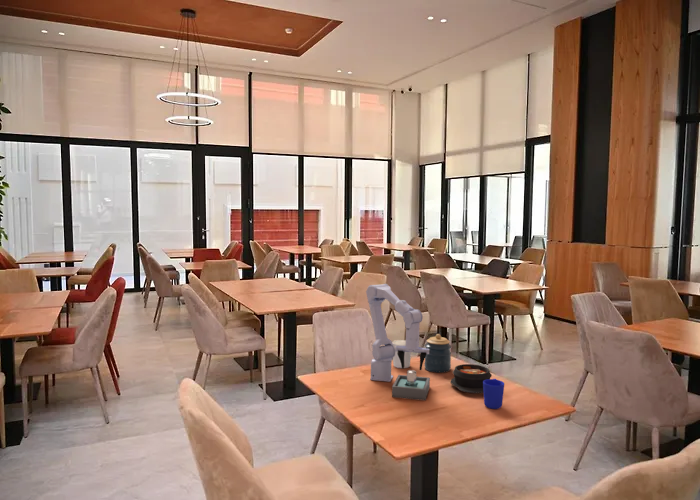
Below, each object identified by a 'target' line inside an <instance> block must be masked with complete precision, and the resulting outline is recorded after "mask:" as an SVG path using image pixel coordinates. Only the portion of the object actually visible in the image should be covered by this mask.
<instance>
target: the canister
mask: <svg viewBox="0 0 700 500" xmlns="http://www.w3.org/2000/svg"><path fill="white" fill-rule="evenodd" d="M450 343H451V341H450V340H448V339H447V338H446V337H442V336H441V334H440V333H436V335H435V336H430V337H429V338H427V339H426V343H425V344H424V348H427V349H429V354H427V355H426V357H425V359H424V362H423V364H424V369H425V371H428V372H431V373H448V372H450V371H451V367H452V364H451V362H452V361H451V360H452V352H451V349H452V345H451V344H450Z"/></svg>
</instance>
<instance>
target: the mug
mask: <svg viewBox="0 0 700 500" xmlns="http://www.w3.org/2000/svg"><path fill="white" fill-rule="evenodd" d="M483 391H484V393H483V404H484V406H485V407H486V408H488V409H492V410H498V409H501V408H502V406H503V401H504V392H505V382H504V381H502V380H499V379H496V378H492V379H491V378H490V379H487V380H484V381H483Z"/></svg>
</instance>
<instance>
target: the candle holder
mask: <svg viewBox="0 0 700 500" xmlns="http://www.w3.org/2000/svg"><path fill="white" fill-rule="evenodd" d="M392 343H393V346H394V348H395V347H396V346H406V339H397V340H393V341H392ZM397 353H398V351H395V356H394V357H393V360H392V361H393V367H394V368H397V369H407V368H409V367H411V359H412V352H405V354H404V368H402V365H401V361H400V359H399V357H398V354H397Z"/></svg>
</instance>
